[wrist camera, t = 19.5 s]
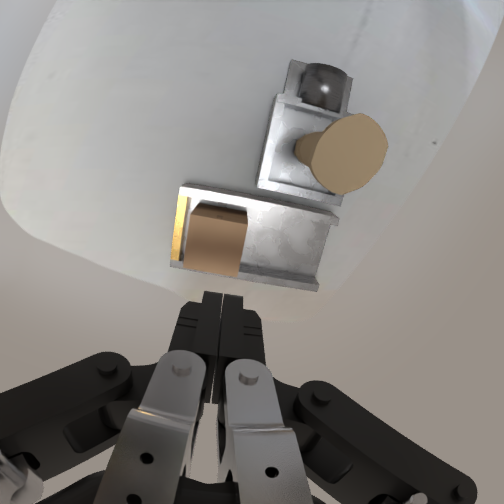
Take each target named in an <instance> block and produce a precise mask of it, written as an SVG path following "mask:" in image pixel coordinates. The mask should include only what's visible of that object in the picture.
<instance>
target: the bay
mask: <svg viewBox="0 0 504 504" xmlns="http://www.w3.org/2000/svg"><path fill="white" fill-rule="evenodd" d="M198 203H202V204H208V205H213V206H219V207H224V208H230V209H235V210H240V211H245V212H247V218H248V228H247V233H246V238H245V242H244V247H243V252H242V257H241V261H240V266H239V271H238V276H237V277H232V276H226V275H220V274H215V273H209V272H204V271H198V270H193V269H187V268H183V262H184V255H185V247H186V239H187V232H188V225H189V219H190V214H191V212H192V211H193V210H194V208H195V207H196V205H197V204H198ZM339 219H340V218H338V217H337V216H336V215H335V214H333V213H332V212H330V211H325V210H321V209H317V208H313V207H308V206H304V205H299V204H295V203H290V202H286V201H281V200H276V199H271V198H267V197H262V196H257V195H252V194H247V193H241V192H236V191H231V190H225V189H220V188H214V187H209V186H203V185H197V184H191V183H184V184H183V185H182V186H180V191H179V197H178V204H177V211H176V218H175V226H174V234H173V242H172V251H171V260H170V267H174V268H179V269H185V270H190V271H195V272H201V273H206V274H212V275H218V276H223V277H229V278H235V279H240V280H246V281H252V282H258V283H264V284H270V285H276V286H283V287H289V288H295V289H302V290H308V291H315V292H317V291H318V288H319V284H318V282H317V280H316V278H315V275H316V272H317V268H318V265H319V262H320V259H321V255H322V252H323V249H324V245H325V242H326V238H327V235H328V232H329V228H330V225H334V226H338V223H339Z"/></svg>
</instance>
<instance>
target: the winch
mask: <svg viewBox="0 0 504 504" xmlns="http://www.w3.org/2000/svg"><path fill="white" fill-rule="evenodd" d="M352 80H353V78H350V77H348V76H347V74H346V73H345V72H344V71H342V70H340V69H338V68H336V67H333V66H330V65H326V64H320V63H310V64H307V63H303V62H300V61H296V60H291V62H290V66H289V70H288V75H287V79H286V84H285V88H284V93H283V94H282V93H277V95H276V96H275V97H274V100H273V104H272V109H271V113H270V118H269V122H268V127H267V131H266V136H265V140H264V145H263V149H262V154H261V158H260V163H259V168H258V172H257V177H256V182H255V184H256V186H257V188H262V189H267V190H272V191H276V192H281V193H285V194H290V195H294V196H299V197H303V198H308V199H312V200H316V201H320V202H324V203H329V204H333V205H337V206H341V203H342V200H343V196H344V194H343V195H340V194H336V193H333V192H331V191H329V190H328V189H326V188H324V187H323V186H322V185H321V184H320V183H318V181H317V180H316V179H315V178H314V176H313V175H312V173H311V171H310V168H309V167H307V166H305V165H304V164H302V163H301V162H300V161H299V160H298V158H297V156H295V155H294V151H295V146H296V141H297V140H298V139H299V138H301V137H303V136H304V135H306V134H309V133H312V132H322V131H323V130H324V129H325V128H326V127H327V126H328V125H330V124H331V123H332V122H333V121H336V120H338V119H341V118H344V117H348V116H351V115H354V114H351V113H348V112H346V111H347V106H348V101H349V96H350V91H351V86H352Z"/></svg>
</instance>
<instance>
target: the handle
mask: <svg viewBox="0 0 504 504" xmlns="http://www.w3.org/2000/svg"><path fill="white" fill-rule="evenodd" d="M387 148H388V143H387V139H386V136H385V134H384V132H383V130H382V129H381V127H380V126H379V125H378V124H377V123H376V122H375V121H374V120H373V119H372V118H370V117H369V116H366V115H364V114H361V113H359V114H355V115H351V116H348V117H344V118H341V119H338V120H336V121H333V122H332V123H331V124H330V125H328V126H327V127H326V128H325V129H324V130H323V131H322V132H312V133H309V134H306V135H304V136H303V137H301V138H299V139H298V140H297V141H296V146H295V151H294V155H295V156H297V158H298V160H299V161H300V162H301V163H302V164H304V165H305V166H307V167H309V168H310V171H311V173H312V175H313V176H314V178H315V179H316V180H317V181H318V183H320V184H321V185H322V186H323V187H324V188H326V189H328V190H329V191H331V192H333V193H336V194H340V195H343V194H346V193H349V192H351V191H354V190H357V189H359V188H361V187H363V186H364V185H365V184H366V183H368V182H369V180H370V179H371V178H372V177H373V176H374V175H375V174H376V173H377V172H378V170H379V169H380V168H381V166H382V163H383V161H384V158H385V155H386V152H387Z"/></svg>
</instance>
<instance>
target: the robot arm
mask: <svg viewBox="0 0 504 504" xmlns="http://www.w3.org/2000/svg"><path fill="white" fill-rule="evenodd" d="M222 297H223V294H222V293H216V292H209V291H204V295H203V299H202V303H197V302H191V301H189V302H187V303H186V304H185V305H184V306H183V307H182V308H181V310H180V314H179V317H178V320H177V323H176V326H175V330H174V333H173V336H172V340H171V343H170V346H169V350H168V352H167V353H165V354H164V355H163V356H162V357H161V358H160V360H159V361H158V362H157V363H155V364H151V365H145V366H131V365H130V363H129V361H128V360H127V359H126V358H125V357H124V356H122V355H120V354H118V353H114V352H101V353H97V354H95V355H93V356H90V357H88V358H85V359H83V360H81V361H79V362H76V363H74V364H71V365H69V366H67V367H64V368H62V369H60V370H57V371H55V372H52V373H50V374H48V375H45V376H42V377H40V378H38V379H35V380H33V381H30V382H28V383H25V384H23V385H20V386H18V387H15V388H13V389H10V390H8V391H5V392H2V393H0V504H33V503H34V502H36V501H37V500H39V499H40V498H41V497H42V493H43V489H44V488H43V482H44V481H46V480H48V479H50V478H52V477H54V476H56V475H58V474H60V473H62V472H64V471H67V470H69V469H71V468H72V467H75V466H76V465H78V464H80V463H82V462H84V461H86V460H88V459H90V458H92V457H94V456H95V455H97V454H99V453H101V452H103V451H104V450H106V449H108V448H110V447H112V446H113V445H115V444H116V445H115V447H114V450H113V452H112V455H111V457H110V460H109V462H108V465H107V468H106V470H103V471H99V472H96V473H93V474H91V475H88V476H86V477H84V478H82V479H81V480H79V481H77V482H75V483H73V484H72V485H70V486H68V487H66V488H65V489H63V490H61V491H59V492H57V493H55V494H53V495H52V496H49V497H47V498H46V499H44V500H42V501H40V502H38V503H35V504H326V503H324V502H323V501H321V500H320V499H318V498H317V497H315V496H313V495H311V492H310V489H309V485H308V481H307V477H308V478H310V479H311V480H312V481H313V482H314V483H316V484H317V485H318V486H319V487H320V488H322V489H323V490H324V491H326V492H327V493H328V494H329V495H331V496H332V497H333V498H335V499H336V500H337V501H339V502H340V503H341V504H474V503H475V501H476V499H477V487H476V484H475V483H474V481H473V480H472V479H471V478H470V477H469V476H467V475H465V474H464V473H462V472H460V471H459V470H457V469H455V468H453V467H452V466H450V465H449V464H447V463H445V462H444V461H442V460H441V459H439V458H437V457H436V456H434V455H433V454H431V453H429V452H428V451H426V450H425V449H423V448H422V447H420V446H419V445H417V444H415V443H414V442H412V441H411V440H410V439H408V438H407V437H405V436H404V435H402V434H400V433H399V432H397V431H396V430H395V429H393V428H392V427H390V426H389V425H387V424H386V423H384V422H383V421H382V420H380V419H379V418H377V417H376V416H374V415H373V414H372V413H370V412H369V411H367V410H366V409H365V408H363V407H362V406H360V405H359V404H358V403H356V402H355V401H354V400H352V399H351V398H349V397H348V396H347V395H345V394H344V393H343V392H341V391H340V390H339V389H337V388H336V387H334V386H333V385H331V384H329V383H327V382H324V381H309V382H306V383H304V384H303V385H302V386H301V387H300V388H297V387H294V386H290V385H287V384H284V383H282V382H280V381H278V380H276V379H275V378H274V377H272V373H271V371H270V370H269V369H268V368H267V367H266V362H265V353H264V343H263V335H262V324H261V319H260V317H259V316H258V314H257V313H256V312H255V311H253V310H246V309H243V296H237V295H230V294H224V299H223V305H222ZM221 306H222V311H221ZM220 316H221V318H220ZM214 370H215V371H214ZM213 377H214V383H213ZM212 384H213V395H212V403H213V404H218V414H217V420H216V436H217V456H218V478H217V483H214V484H205V483H202V482H199V481H196V480H193V479H190V478H189V477H190V469H191V463H192V458H193V453H194V448H195V443H196V439H197V434H198V429H199V424H200V419H201V417H202V415H203V409H204V403H210V398H211V390H212ZM306 476H307V477H306Z"/></svg>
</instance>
